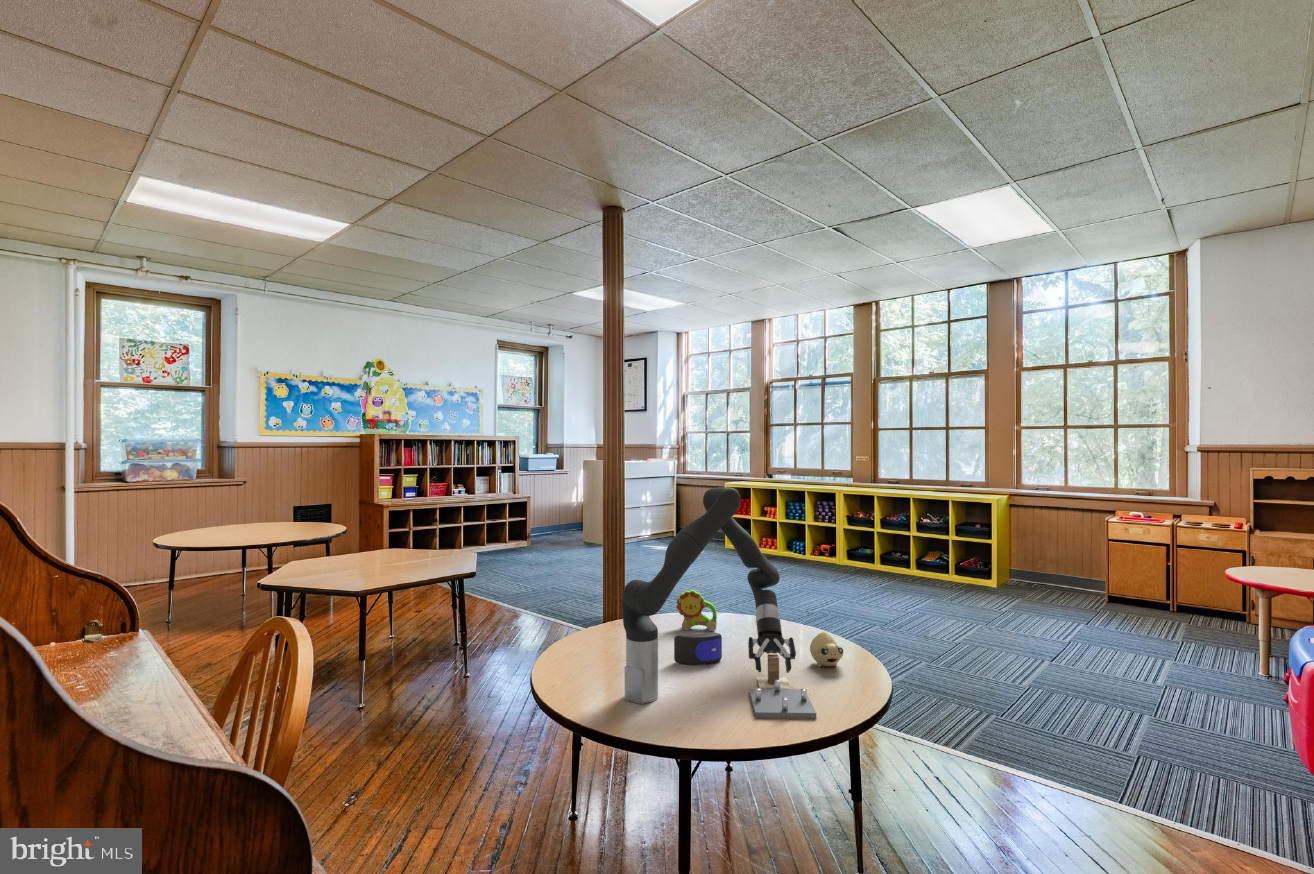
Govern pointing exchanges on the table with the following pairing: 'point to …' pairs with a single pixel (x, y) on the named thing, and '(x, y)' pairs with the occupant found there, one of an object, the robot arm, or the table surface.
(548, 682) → the table surface
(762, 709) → the base board
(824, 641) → the yellow toy animal
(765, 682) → the handled board
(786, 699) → the standoff pins
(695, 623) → the toy lion
